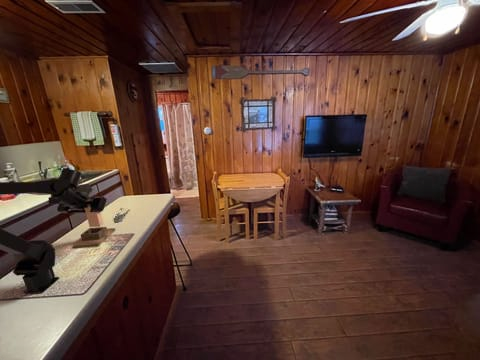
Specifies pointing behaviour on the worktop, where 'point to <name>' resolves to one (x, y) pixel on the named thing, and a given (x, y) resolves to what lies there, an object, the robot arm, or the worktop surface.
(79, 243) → the square socket base
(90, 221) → the clay rectangular block
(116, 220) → the driftwood
